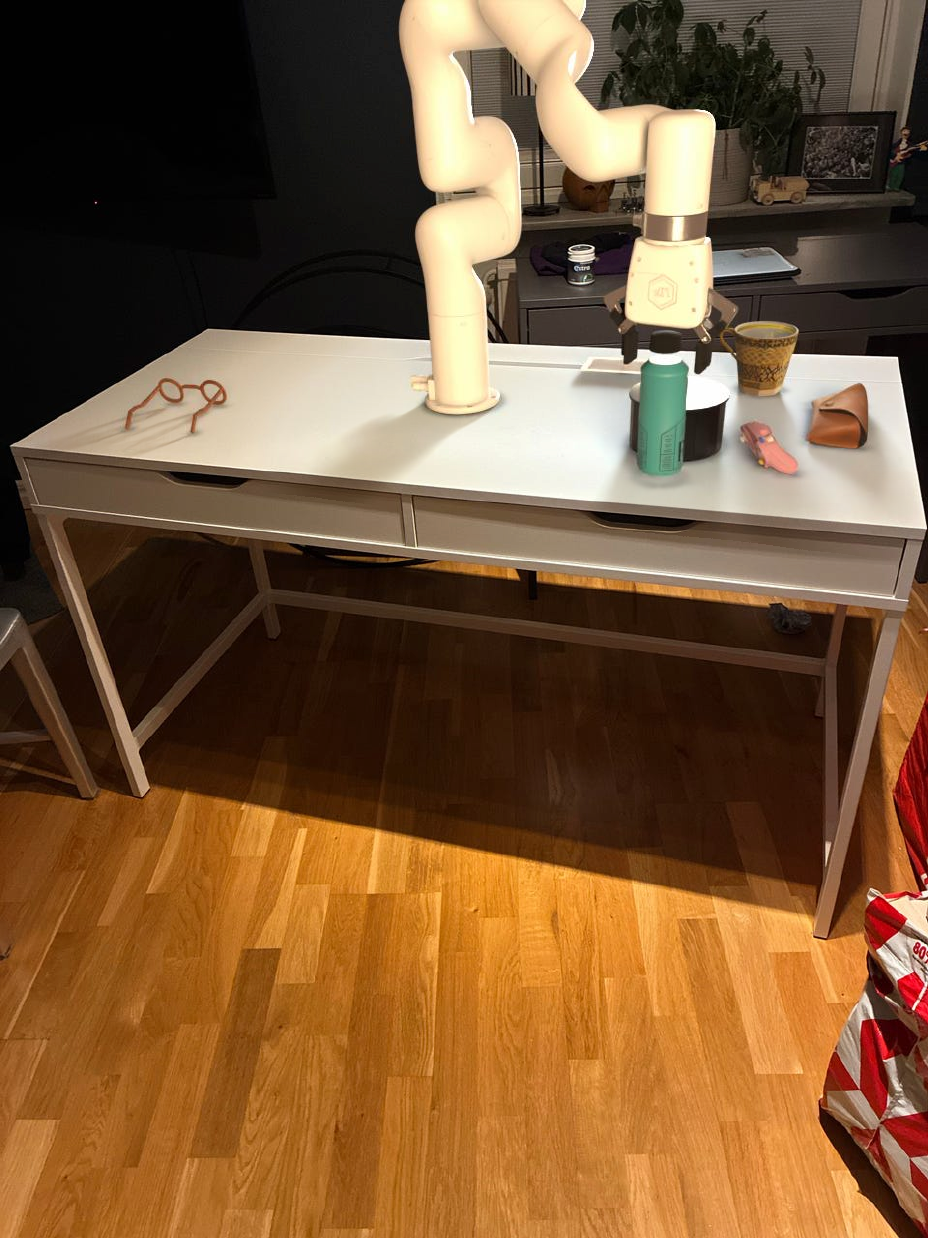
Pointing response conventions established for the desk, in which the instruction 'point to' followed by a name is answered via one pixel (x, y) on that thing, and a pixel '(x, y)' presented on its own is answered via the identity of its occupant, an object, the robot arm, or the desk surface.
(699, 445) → the black short cylinder
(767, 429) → the pink cartoon race car
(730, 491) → the desk surface
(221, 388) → the glasses
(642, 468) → the beverage bottle
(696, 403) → the lid
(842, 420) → the sunglasses case
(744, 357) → the ceramic cup
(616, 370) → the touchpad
